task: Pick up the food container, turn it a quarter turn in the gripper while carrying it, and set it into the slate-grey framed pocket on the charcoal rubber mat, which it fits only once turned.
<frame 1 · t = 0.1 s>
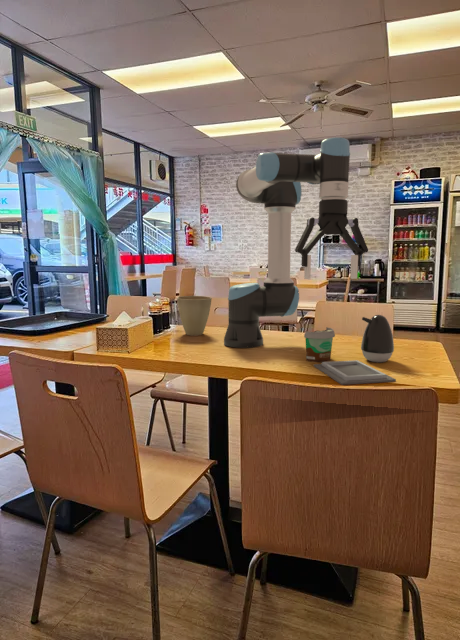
hand: (330, 278, 123), 28 cm above the table, tool pointing down, fingers open, 13 cm apart
plant pot: (194, 334, 193), on the table
food container: (322, 360, 147), on the table
pump dispenser: (376, 361, 146), on the table
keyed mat: (352, 373, 131), on the table
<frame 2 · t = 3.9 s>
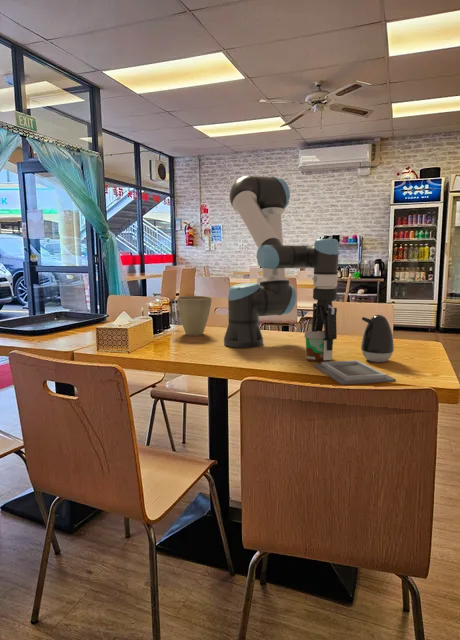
hand: (322, 356, 147), 1 cm above the table, tool pointing down, fingers closed on food container, 7 cm apart
food container: (323, 360, 147), on the table, touching gripper
everything else where it was.
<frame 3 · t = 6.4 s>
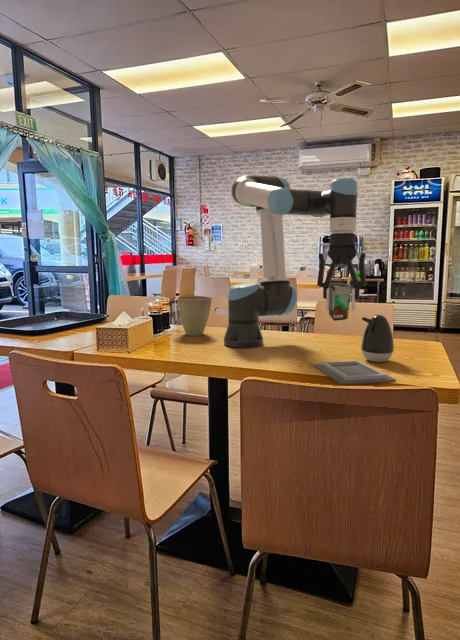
hand: (340, 309, 135), 18 cm above the table, tool pointing down, fingers closed on food container, 7 cm apart
food container: (341, 318, 137), point 15 cm above the table, touching gripper
everything else where it was.
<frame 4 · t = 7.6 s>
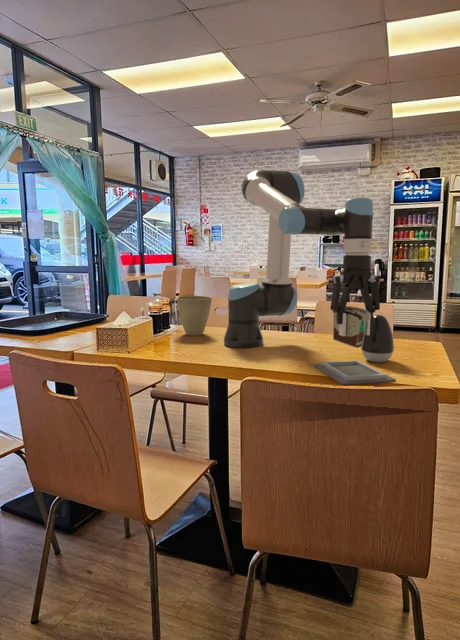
hand: (354, 334, 129), 12 cm above the table, tool pointing down, fingers closed on food container, 7 cm apart
food container: (351, 343, 130), point 9 cm above the table, touching gripper
everything else where it was.
when the fingers open (4 cm above the table, at t = 8.9 s): food container stays where it is, resting on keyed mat.
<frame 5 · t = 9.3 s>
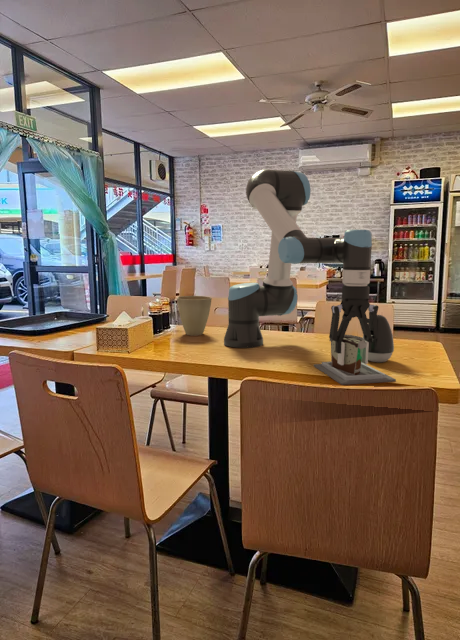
hand: (352, 363, 130), 3 cm above the table, tool pointing down, fingers open, 7 cm apart
food container: (350, 370, 132), resting on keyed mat, touching gripper
everything else where it was.
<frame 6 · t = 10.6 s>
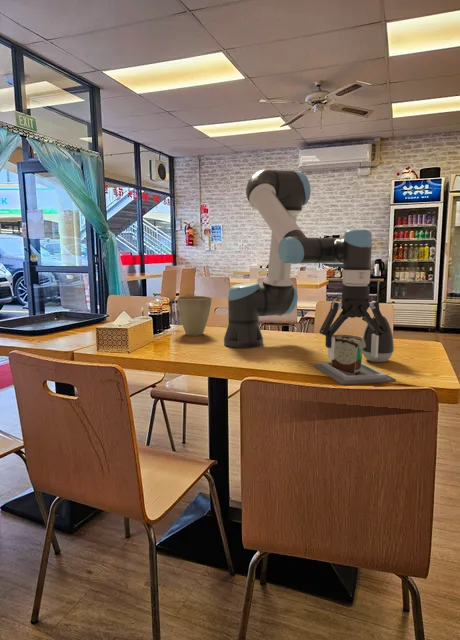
hand: (352, 357, 130), 5 cm above the table, tool pointing down, fingers open, 13 cm apart
food container: (350, 370, 132), resting on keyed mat
everything else where it was.
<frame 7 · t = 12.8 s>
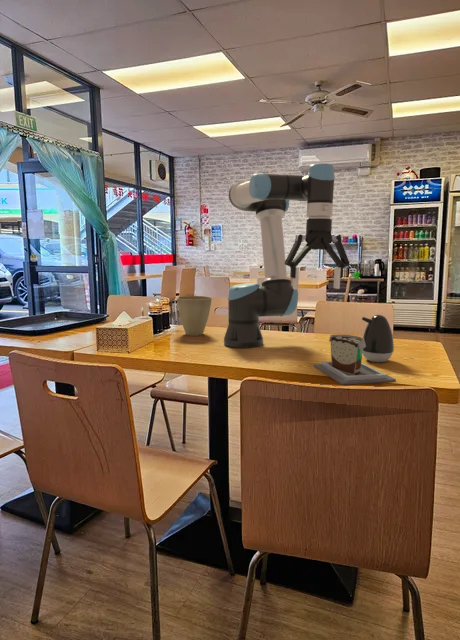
hand: (316, 288, 138), 24 cm above the table, tool pointing down, fingers open, 13 cm apart
nothing on the table moved.
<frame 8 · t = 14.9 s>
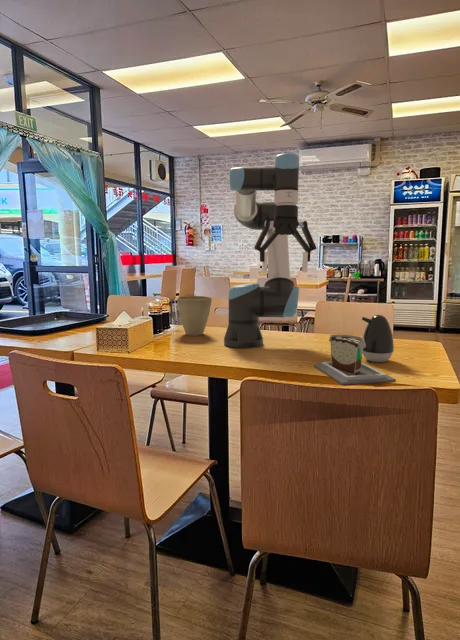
hand: (284, 272, 145), 29 cm above the table, tool pointing down, fingers open, 13 cm apart
nothing on the table moved.
at the end: food container 1.2 cm off-centre on the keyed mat, point 0.4 cm above the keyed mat's base; food container tilted 0°; the gripper is holding nothing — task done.
